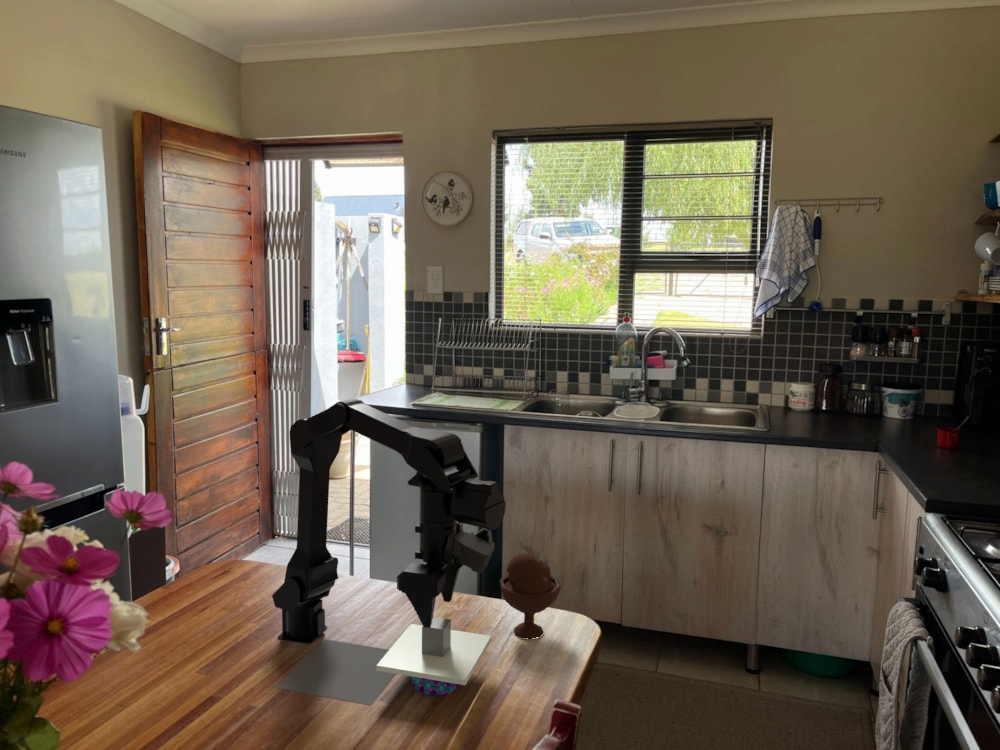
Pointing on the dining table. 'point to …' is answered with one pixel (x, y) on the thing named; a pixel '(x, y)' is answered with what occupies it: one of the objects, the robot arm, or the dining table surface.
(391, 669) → the lid
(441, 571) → the robot arm
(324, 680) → the mat
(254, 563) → the dining table surface
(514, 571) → the ice cream bowl
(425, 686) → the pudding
